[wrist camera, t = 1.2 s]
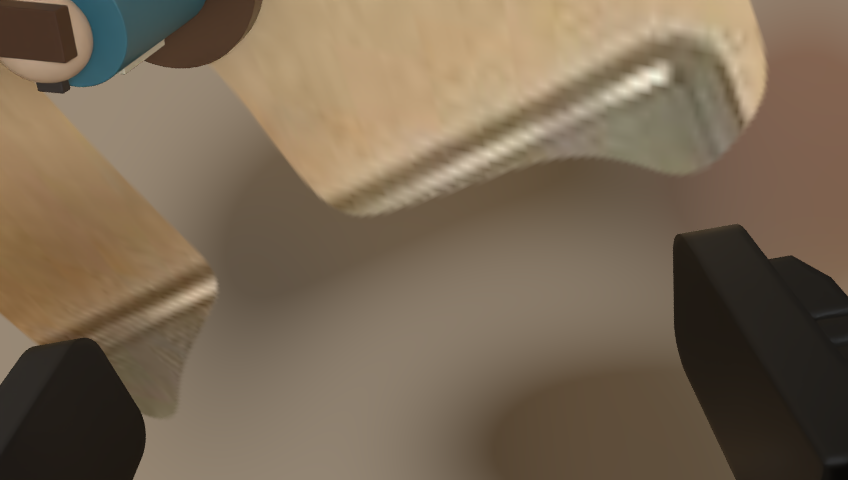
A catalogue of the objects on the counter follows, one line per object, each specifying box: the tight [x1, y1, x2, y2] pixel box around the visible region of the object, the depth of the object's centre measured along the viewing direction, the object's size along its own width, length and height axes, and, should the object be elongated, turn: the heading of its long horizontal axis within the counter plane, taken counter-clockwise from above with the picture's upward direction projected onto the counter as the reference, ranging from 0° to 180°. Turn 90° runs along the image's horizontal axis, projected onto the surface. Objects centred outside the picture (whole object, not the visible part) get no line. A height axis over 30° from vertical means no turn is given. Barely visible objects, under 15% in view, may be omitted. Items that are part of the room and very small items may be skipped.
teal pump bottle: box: [0, 0, 205, 93], centre depth 26 cm, size 5×4×11 cm
